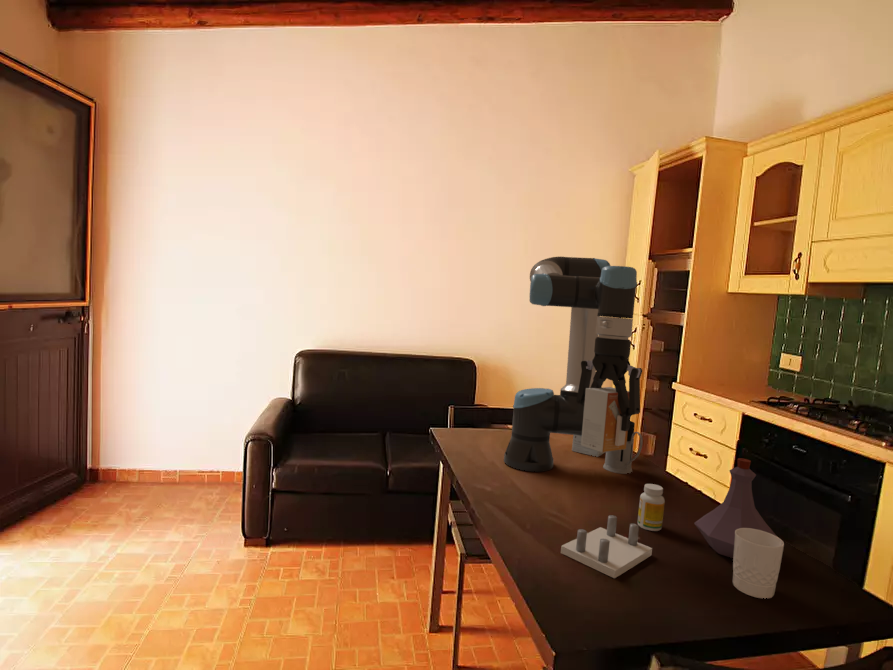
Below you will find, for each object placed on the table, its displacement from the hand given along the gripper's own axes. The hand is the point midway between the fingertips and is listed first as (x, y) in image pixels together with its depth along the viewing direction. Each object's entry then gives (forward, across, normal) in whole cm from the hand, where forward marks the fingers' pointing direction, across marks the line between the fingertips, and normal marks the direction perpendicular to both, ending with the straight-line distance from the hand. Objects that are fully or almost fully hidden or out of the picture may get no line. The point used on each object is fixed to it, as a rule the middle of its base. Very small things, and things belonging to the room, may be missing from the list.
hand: (604, 440), depth 118 cm
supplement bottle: (+21, +6, +14) cm, 26 cm away
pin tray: (+21, +7, -7) cm, 23 cm away
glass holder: (+20, -18, +46) cm, 53 cm away
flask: (+21, +23, +18) cm, 36 cm away
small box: (+2, 0, 0) cm, 2 cm away
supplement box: (+20, -36, +56) cm, 69 cm away
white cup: (+21, +31, +4) cm, 38 cm away
